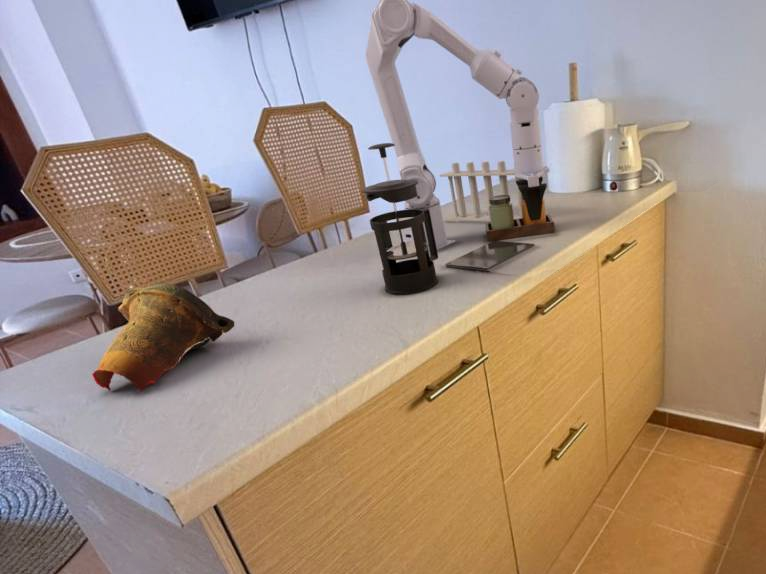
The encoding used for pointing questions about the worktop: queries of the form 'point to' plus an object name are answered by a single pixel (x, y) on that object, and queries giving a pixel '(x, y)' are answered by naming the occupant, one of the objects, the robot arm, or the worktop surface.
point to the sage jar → (501, 212)
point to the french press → (409, 272)
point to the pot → (158, 333)
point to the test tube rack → (474, 191)
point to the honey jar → (526, 217)
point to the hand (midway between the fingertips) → (534, 216)
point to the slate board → (488, 256)
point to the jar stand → (520, 230)
